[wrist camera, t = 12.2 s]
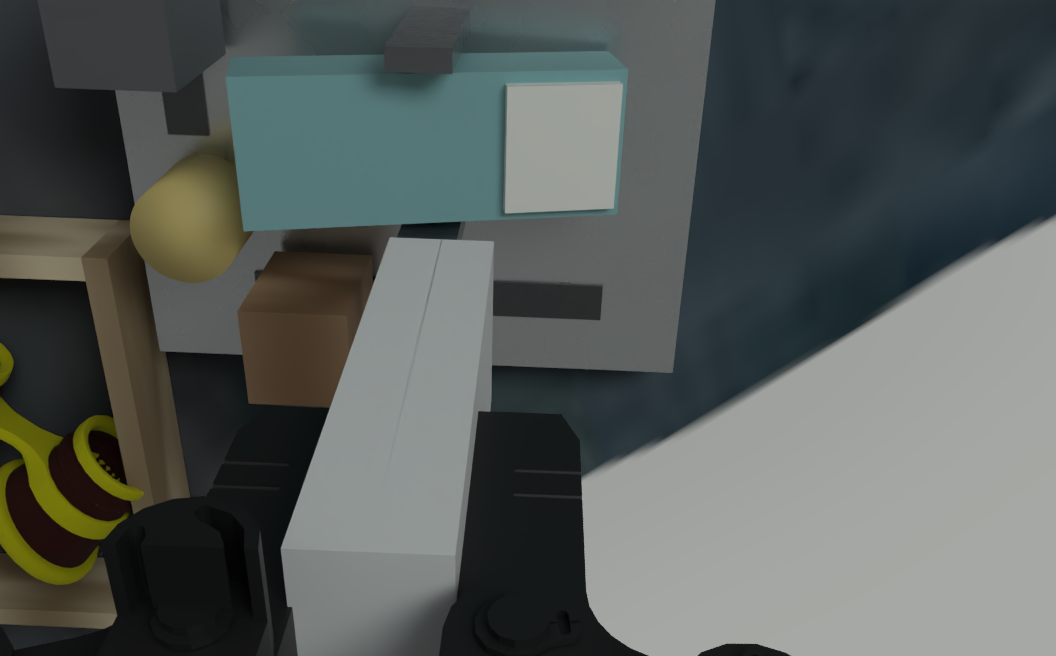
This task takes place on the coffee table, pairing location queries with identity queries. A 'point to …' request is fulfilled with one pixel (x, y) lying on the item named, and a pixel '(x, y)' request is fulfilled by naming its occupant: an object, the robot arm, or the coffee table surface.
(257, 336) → the brown rectangular block
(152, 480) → the wooden tray
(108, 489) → the opera glasses
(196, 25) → the dark grey block
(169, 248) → the ochre button
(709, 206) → the coffee table surface
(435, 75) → the block
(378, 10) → the panel
